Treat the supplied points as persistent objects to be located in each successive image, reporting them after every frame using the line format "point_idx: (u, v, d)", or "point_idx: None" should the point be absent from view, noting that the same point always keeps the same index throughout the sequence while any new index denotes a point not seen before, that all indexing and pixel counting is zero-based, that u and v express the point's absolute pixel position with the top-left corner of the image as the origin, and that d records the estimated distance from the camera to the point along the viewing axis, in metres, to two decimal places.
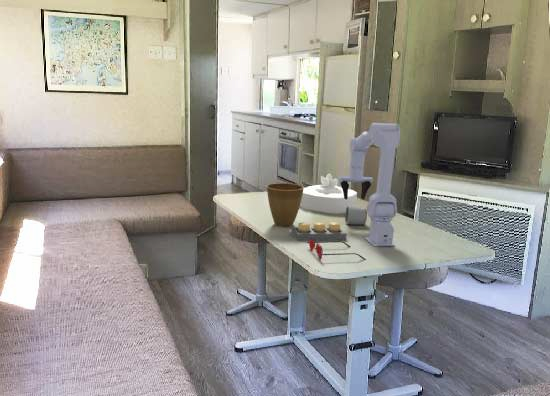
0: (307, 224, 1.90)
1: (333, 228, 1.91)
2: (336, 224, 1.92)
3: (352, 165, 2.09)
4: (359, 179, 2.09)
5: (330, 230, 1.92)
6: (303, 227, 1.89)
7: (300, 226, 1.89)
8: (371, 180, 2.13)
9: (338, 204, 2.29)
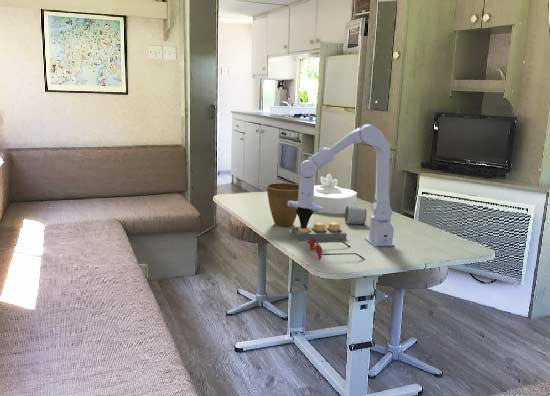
0: (307, 228, 1.91)
1: (333, 228, 1.91)
2: (336, 224, 1.92)
3: (309, 191, 1.85)
4: (302, 206, 1.86)
5: (330, 230, 1.92)
6: (303, 231, 1.89)
7: (300, 230, 1.89)
8: (319, 210, 1.85)
9: (338, 204, 2.29)
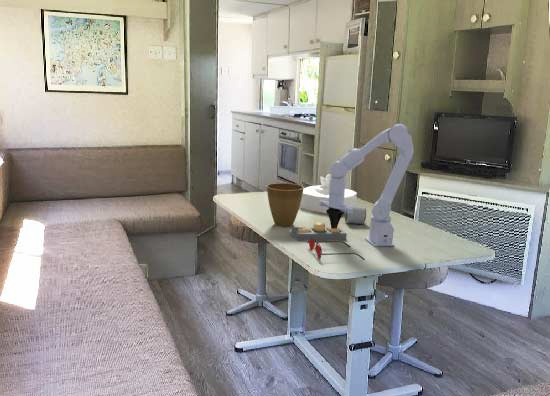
0: (307, 229, 1.91)
1: None
2: (336, 228, 1.93)
3: (339, 192, 1.88)
4: (331, 206, 1.89)
5: None
6: None
7: (300, 231, 1.89)
8: (347, 211, 1.86)
9: None
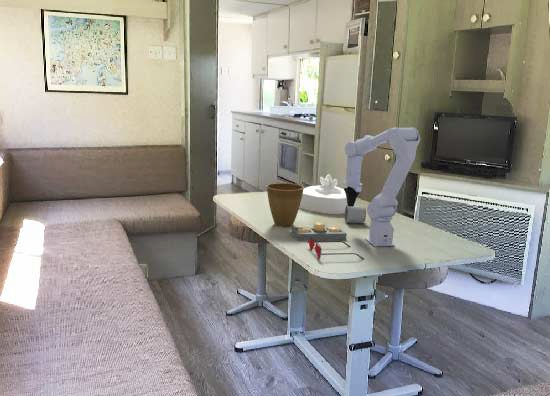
0: (307, 229, 1.91)
1: None
2: (336, 229, 1.93)
3: (350, 171, 1.96)
4: (345, 184, 1.98)
5: None
6: None
7: (300, 231, 1.89)
8: (355, 189, 1.93)
9: (339, 204, 2.28)
